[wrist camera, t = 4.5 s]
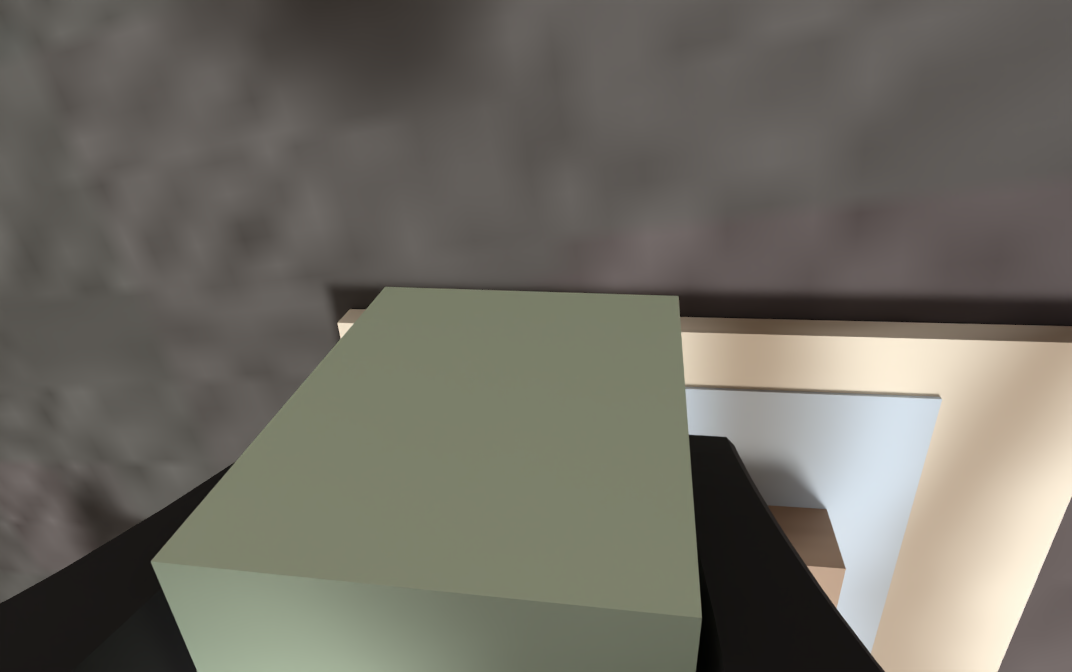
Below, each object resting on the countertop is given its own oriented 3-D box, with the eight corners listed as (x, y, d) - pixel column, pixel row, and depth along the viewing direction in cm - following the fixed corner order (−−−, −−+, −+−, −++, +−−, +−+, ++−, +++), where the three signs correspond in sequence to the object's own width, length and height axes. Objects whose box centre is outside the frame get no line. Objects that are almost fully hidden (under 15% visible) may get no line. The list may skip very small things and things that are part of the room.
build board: (1113, 327, 15) (1207, 399, 12) (936, 769, 23) (971, 867, 20) (349, 309, 18) (299, 365, 15) (429, 707, 26) (405, 787, 23)
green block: (679, 295, 9) (703, 617, 4) (662, 525, 11) (667, 909, 6) (385, 287, 9) (151, 561, 5) (419, 505, 11) (270, 843, 7)
